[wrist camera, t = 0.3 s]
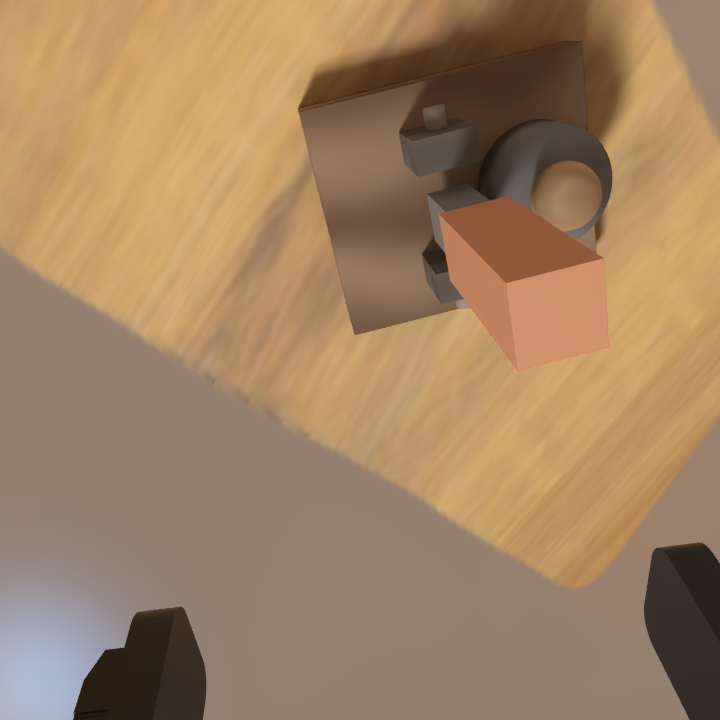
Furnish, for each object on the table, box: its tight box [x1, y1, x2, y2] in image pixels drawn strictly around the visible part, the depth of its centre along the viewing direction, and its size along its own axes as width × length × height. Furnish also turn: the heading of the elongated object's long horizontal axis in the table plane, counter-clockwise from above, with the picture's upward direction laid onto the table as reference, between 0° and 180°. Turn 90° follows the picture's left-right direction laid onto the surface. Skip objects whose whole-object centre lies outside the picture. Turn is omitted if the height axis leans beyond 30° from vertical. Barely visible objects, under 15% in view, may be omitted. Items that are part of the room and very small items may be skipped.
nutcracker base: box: [298, 41, 612, 335], centre depth 33 cm, size 12×14×8 cm
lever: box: [427, 183, 610, 371], centre depth 27 cm, size 3×3×14 cm
